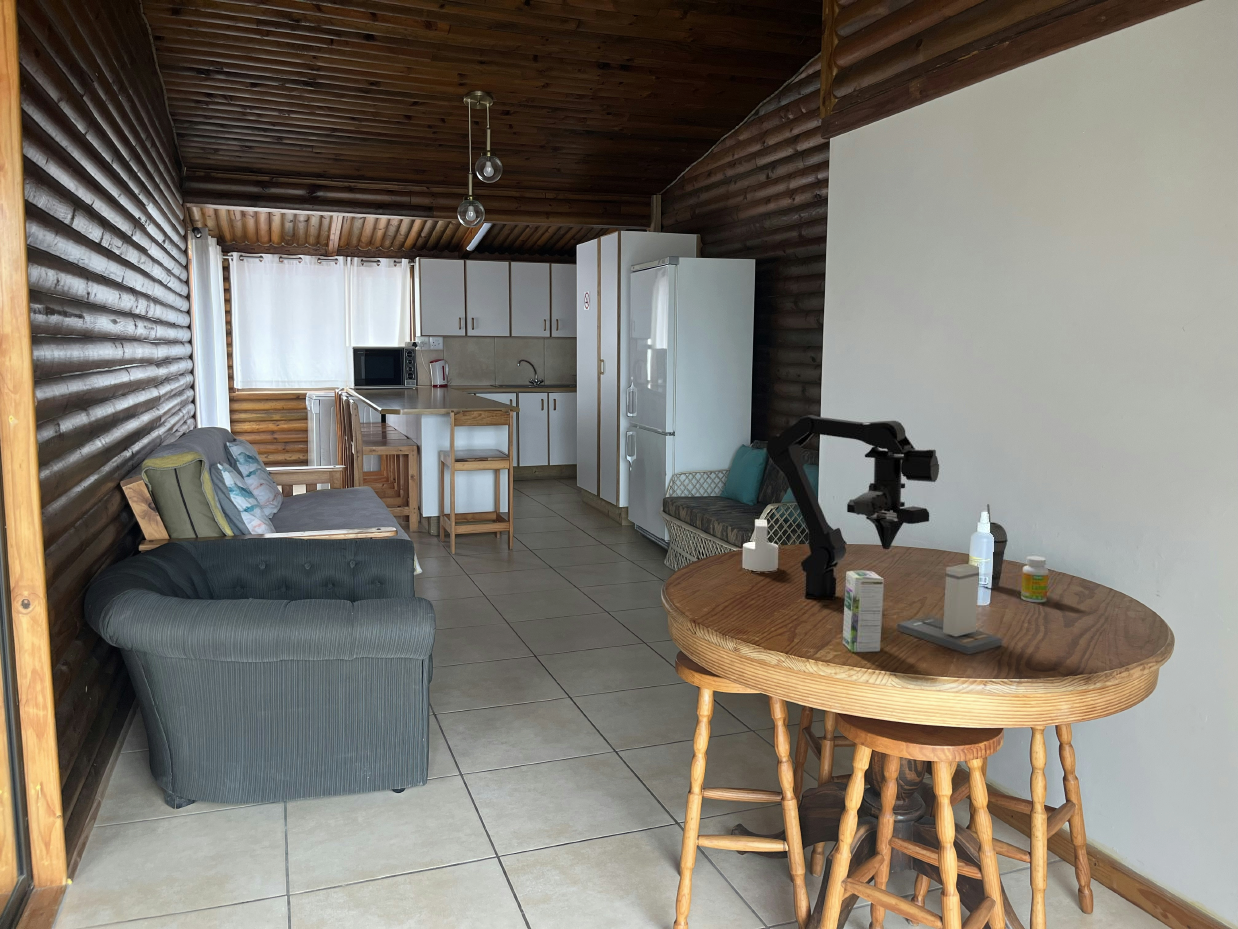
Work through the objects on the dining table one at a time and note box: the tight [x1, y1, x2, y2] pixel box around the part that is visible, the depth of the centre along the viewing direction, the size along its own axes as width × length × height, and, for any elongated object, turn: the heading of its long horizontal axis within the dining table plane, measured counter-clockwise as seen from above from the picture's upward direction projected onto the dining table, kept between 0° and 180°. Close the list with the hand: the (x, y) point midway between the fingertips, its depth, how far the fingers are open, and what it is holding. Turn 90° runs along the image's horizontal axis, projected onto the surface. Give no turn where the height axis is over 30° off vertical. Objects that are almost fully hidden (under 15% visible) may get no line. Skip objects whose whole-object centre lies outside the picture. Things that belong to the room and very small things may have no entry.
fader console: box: [896, 615, 1003, 655], centre depth 180 cm, size 17×10×2 cm, turn 33°
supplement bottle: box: [1020, 555, 1049, 603], centre depth 207 cm, size 5×5×10 cm
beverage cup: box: [986, 503, 1009, 589], centre depth 217 cm, size 7×7×20 cm
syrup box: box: [842, 570, 885, 653], centre depth 173 cm, size 6×6×14 cm
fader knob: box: [943, 563, 979, 636], centre depth 177 cm, size 3×6×13 cm, turn 123°
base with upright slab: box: [742, 518, 779, 572], centre depth 234 cm, size 9×9×12 cm
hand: (886, 549), depth 199 cm, fingers closed
